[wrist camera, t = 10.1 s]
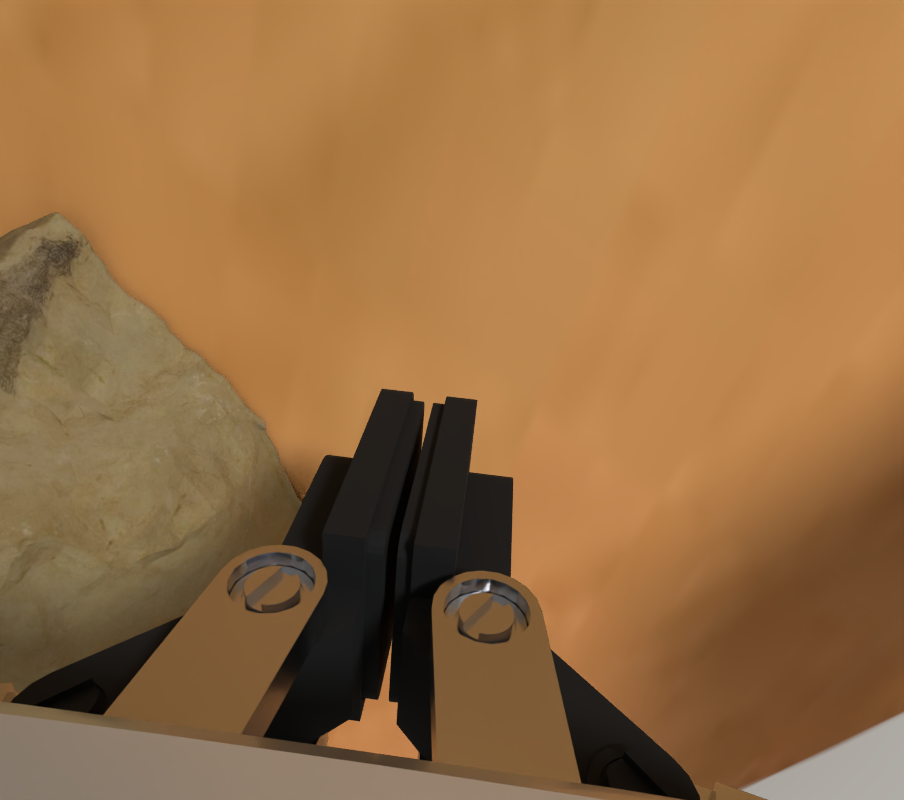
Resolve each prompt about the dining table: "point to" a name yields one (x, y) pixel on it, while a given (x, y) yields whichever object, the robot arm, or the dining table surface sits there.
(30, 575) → the rock
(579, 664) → the dining table surface
